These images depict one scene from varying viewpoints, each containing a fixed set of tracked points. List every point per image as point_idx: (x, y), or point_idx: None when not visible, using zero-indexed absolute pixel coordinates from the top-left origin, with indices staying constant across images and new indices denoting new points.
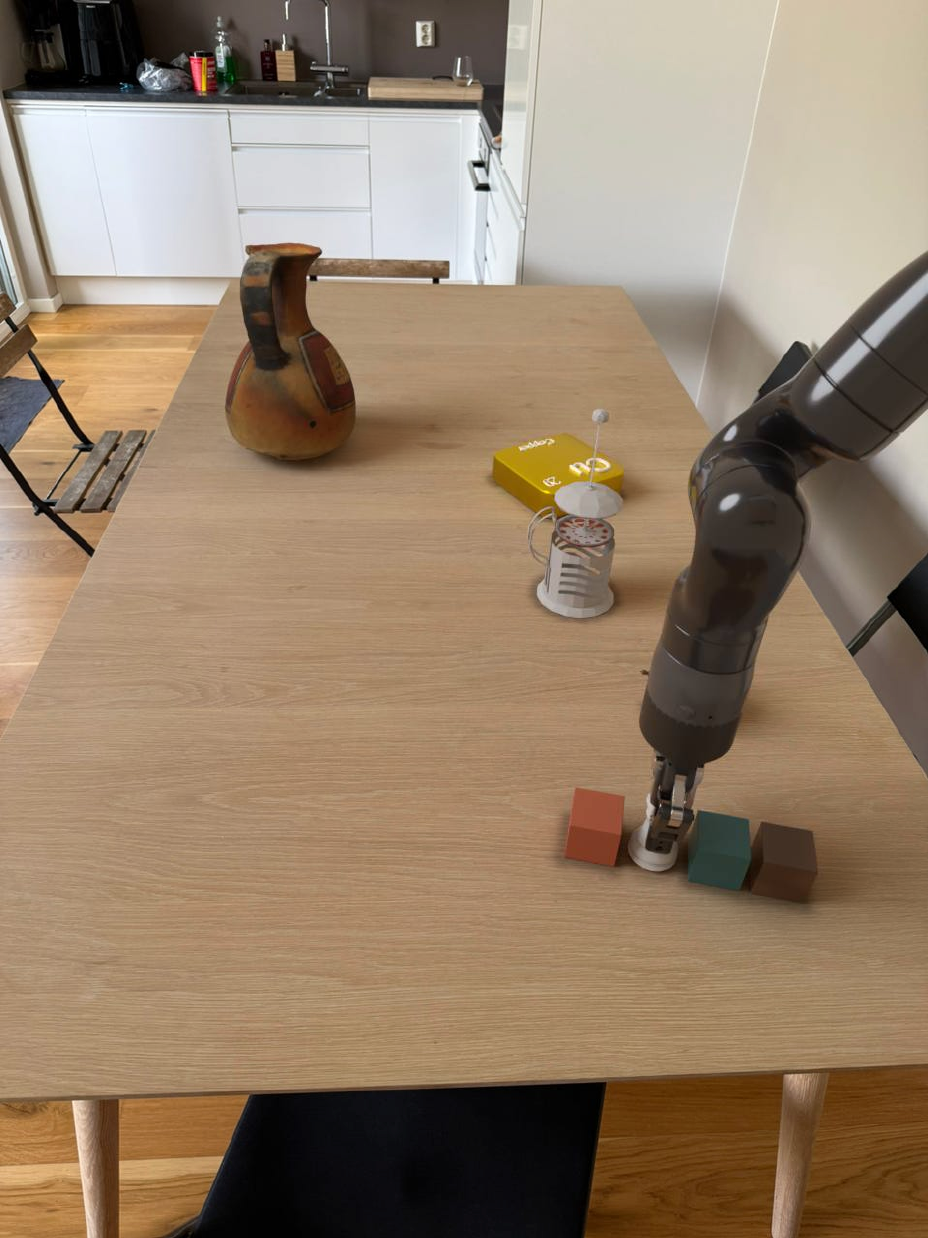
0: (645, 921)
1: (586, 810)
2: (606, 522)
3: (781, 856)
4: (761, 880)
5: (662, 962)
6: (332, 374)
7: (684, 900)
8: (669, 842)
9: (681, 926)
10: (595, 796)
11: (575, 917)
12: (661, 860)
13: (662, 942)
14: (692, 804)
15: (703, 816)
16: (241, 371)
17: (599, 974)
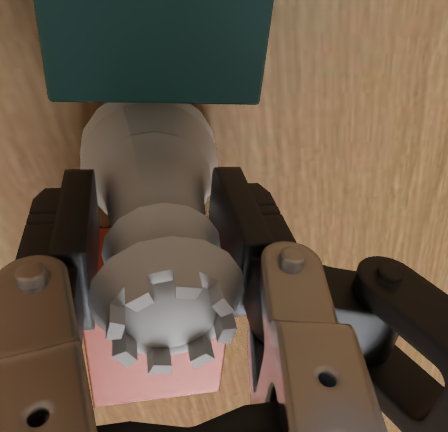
0: (339, 151)
1: (165, 377)
2: None
3: None
4: None
5: (435, 114)
6: None
7: (281, 62)
8: (286, 224)
9: (355, 71)
10: (110, 372)
11: (329, 266)
12: (214, 154)
13: (391, 115)
14: (361, 355)
15: (79, 78)
16: None
17: (438, 218)
